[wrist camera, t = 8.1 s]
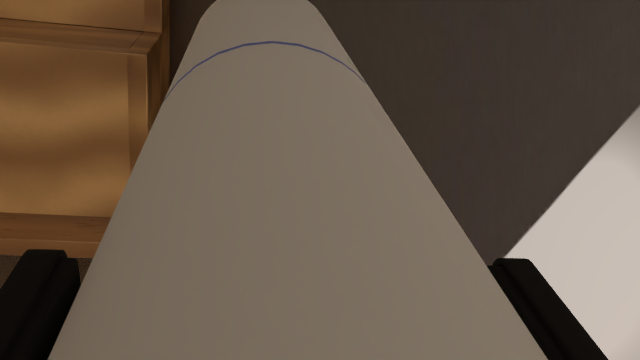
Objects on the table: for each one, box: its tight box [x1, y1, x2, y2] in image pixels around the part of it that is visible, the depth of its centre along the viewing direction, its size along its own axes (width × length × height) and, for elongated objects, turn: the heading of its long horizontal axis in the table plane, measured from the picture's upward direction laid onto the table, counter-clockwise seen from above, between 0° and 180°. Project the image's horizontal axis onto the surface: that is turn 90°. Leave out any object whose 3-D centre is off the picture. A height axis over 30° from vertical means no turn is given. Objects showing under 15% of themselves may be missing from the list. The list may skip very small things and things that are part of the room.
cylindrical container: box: [48, 0, 548, 360], centre depth 17 cm, size 7×7×25 cm
